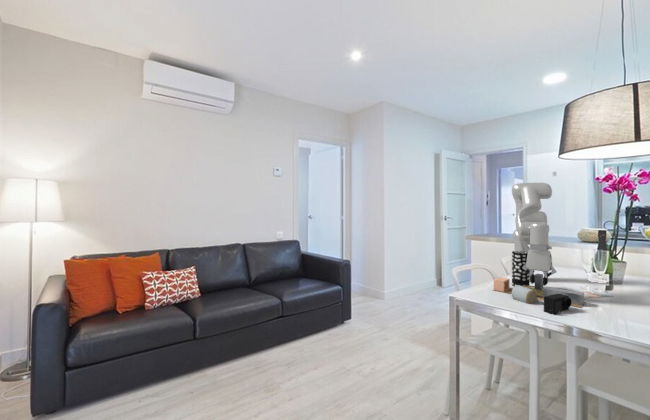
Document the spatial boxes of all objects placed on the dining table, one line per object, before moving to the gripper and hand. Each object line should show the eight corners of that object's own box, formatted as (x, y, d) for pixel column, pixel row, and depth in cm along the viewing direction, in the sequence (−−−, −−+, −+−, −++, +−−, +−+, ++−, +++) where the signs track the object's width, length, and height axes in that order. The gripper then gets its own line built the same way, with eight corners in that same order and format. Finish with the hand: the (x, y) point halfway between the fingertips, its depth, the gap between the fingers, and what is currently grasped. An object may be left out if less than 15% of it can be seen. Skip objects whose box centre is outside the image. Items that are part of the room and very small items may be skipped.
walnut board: (500, 288, 171) (500, 286, 171) (586, 304, 142) (586, 302, 142) (492, 292, 163) (492, 290, 163) (581, 310, 135) (581, 308, 135)
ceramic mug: (527, 306, 140) (527, 289, 140) (510, 301, 148) (511, 285, 148) (543, 304, 144) (543, 287, 144) (526, 299, 152) (526, 283, 152)
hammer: (525, 290, 158) (525, 271, 158) (579, 300, 141) (579, 279, 141) (522, 292, 155) (522, 272, 155) (577, 302, 139) (577, 281, 139)
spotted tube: (525, 286, 174) (525, 251, 174) (532, 290, 166) (532, 253, 166) (509, 285, 176) (509, 251, 175) (515, 289, 168) (515, 253, 167)
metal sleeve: (546, 296, 152) (546, 286, 151) (584, 303, 140) (584, 292, 140) (543, 298, 148) (543, 288, 148) (581, 306, 137) (581, 295, 137)
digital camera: (557, 316, 128) (557, 299, 128) (543, 311, 133) (543, 296, 133) (571, 312, 133) (572, 296, 132) (558, 308, 138) (558, 293, 137)
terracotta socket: (499, 287, 169) (499, 277, 169) (509, 288, 165) (509, 278, 165) (493, 289, 164) (493, 279, 164) (503, 291, 160) (503, 281, 160)
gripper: (561, 248, 147) (561, 286, 148) (522, 245, 160) (522, 279, 161) (557, 250, 142) (557, 289, 143) (517, 246, 155) (517, 282, 156)
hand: (538, 283), depth 152 cm, fingers open, 4 cm apart
